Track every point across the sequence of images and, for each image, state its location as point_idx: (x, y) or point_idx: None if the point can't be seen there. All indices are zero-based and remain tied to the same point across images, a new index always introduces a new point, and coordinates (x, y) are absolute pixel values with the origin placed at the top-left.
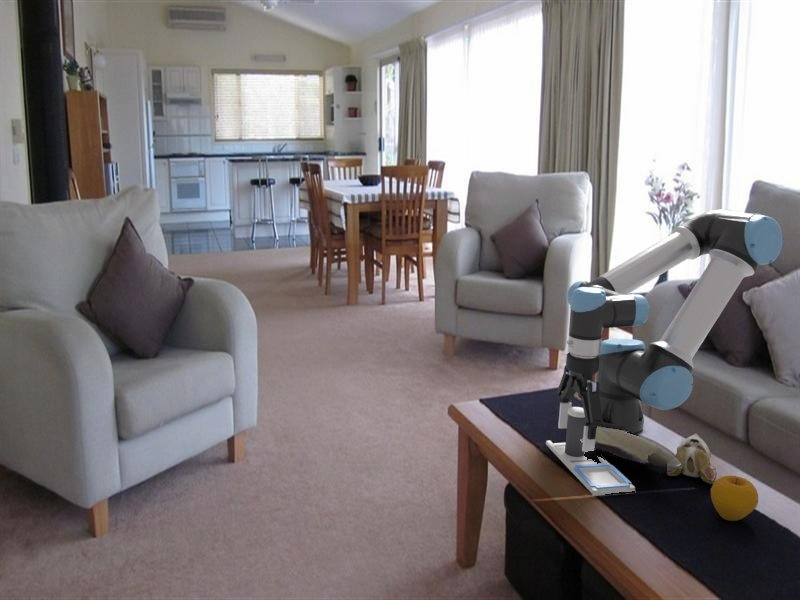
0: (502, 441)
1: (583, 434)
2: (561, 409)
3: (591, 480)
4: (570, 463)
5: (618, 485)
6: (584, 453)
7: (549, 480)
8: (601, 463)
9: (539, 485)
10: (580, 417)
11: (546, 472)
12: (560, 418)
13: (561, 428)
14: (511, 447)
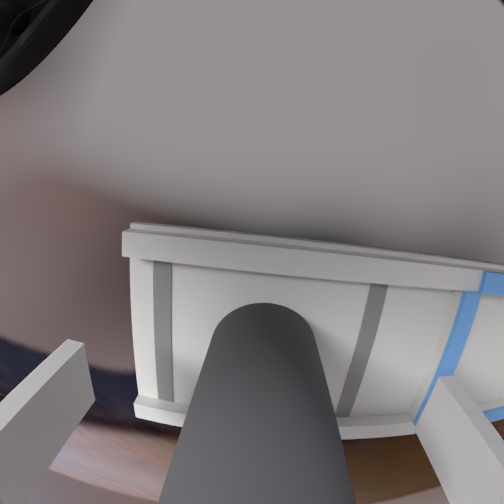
0: (111, 478)
1: (447, 498)
2: (33, 484)
3: (487, 385)
4: (384, 430)
5: None
6: (296, 314)
7: (404, 476)
8: (460, 318)
9: (409, 494)
10: None
11: (361, 476)
12: (64, 441)
13: (92, 389)
14: (155, 484)
